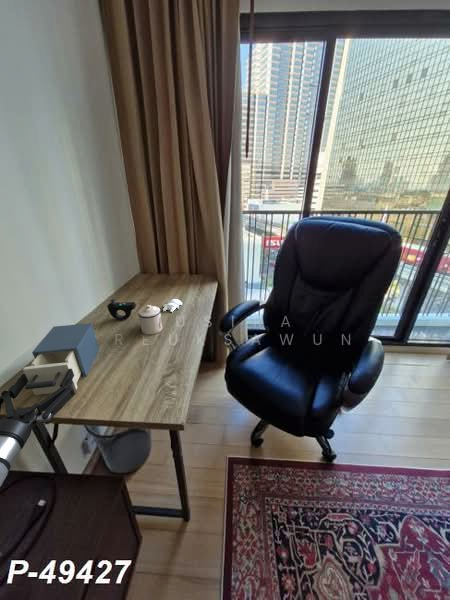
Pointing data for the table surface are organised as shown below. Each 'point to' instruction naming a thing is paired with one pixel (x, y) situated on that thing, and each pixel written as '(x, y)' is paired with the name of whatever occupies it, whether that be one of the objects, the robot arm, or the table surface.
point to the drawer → (51, 371)
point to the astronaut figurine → (172, 305)
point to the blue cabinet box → (71, 343)
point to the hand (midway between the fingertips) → (49, 374)
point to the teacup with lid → (150, 319)
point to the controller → (116, 306)
